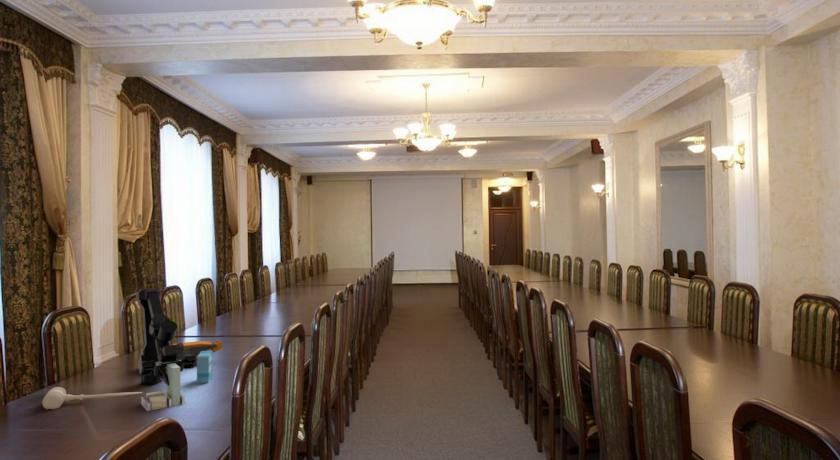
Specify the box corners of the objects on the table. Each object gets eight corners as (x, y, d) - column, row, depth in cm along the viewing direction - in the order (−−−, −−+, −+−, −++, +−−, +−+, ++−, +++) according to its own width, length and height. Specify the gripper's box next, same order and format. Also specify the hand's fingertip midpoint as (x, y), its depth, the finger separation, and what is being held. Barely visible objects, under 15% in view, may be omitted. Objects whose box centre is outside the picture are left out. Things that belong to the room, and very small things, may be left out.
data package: (208, 385, 212) (208, 355, 212) (196, 386, 210) (196, 356, 211) (212, 377, 223) (212, 349, 223) (201, 378, 222) (201, 350, 222)
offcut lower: (146, 403, 185) (146, 398, 186) (161, 400, 189) (161, 395, 189) (151, 409, 179) (151, 404, 179) (166, 406, 182) (166, 401, 182)
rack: (140, 406, 185) (140, 396, 185) (179, 399, 193) (179, 389, 194) (147, 413, 178) (147, 403, 178) (187, 406, 186) (187, 396, 186)
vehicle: (225, 363, 248) (225, 342, 248) (145, 374, 229) (145, 351, 229) (218, 357, 260) (218, 337, 260) (141, 367, 241) (141, 345, 241)
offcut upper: (146, 398, 186) (146, 393, 186) (161, 395, 189) (161, 390, 189) (151, 404, 179) (151, 398, 179) (166, 401, 182) (166, 396, 182)
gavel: (145, 398, 204) (46, 403, 189) (146, 382, 204) (48, 386, 190) (144, 406, 195) (40, 411, 180) (146, 389, 195) (42, 394, 180)
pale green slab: (166, 399, 190) (166, 364, 190) (173, 398, 191) (174, 363, 191) (172, 405, 184) (172, 368, 184) (179, 403, 185) (180, 367, 185)
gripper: (141, 339, 186) (148, 376, 178) (195, 333, 198) (204, 367, 189) (136, 357, 192) (142, 394, 184) (189, 350, 204) (198, 384, 195)
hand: (172, 384), depth 188 cm, fingers closed on pale green slab, 2 cm apart
